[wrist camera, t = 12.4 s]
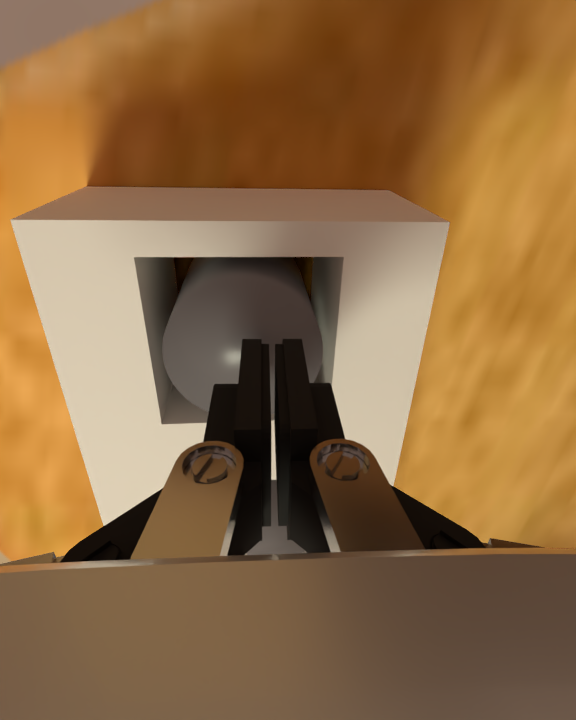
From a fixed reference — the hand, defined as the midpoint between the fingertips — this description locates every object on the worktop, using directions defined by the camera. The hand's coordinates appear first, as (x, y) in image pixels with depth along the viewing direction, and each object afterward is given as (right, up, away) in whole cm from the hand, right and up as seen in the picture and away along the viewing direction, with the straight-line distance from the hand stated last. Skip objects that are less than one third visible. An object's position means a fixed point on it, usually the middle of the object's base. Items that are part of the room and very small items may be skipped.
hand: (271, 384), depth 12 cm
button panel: (-2, -4, +11) cm, 12 cm away
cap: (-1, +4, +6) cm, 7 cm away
